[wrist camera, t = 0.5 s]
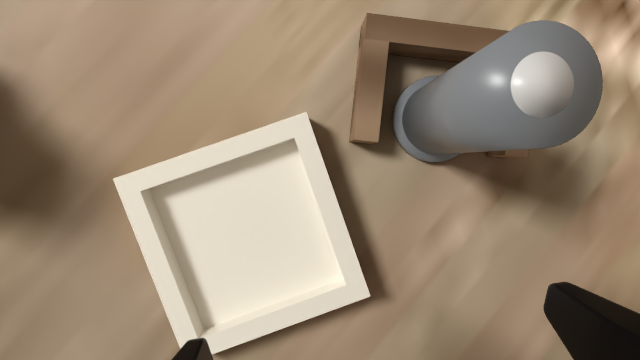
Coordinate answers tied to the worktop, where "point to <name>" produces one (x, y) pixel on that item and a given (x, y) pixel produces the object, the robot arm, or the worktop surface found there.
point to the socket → (412, 41)
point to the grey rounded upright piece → (504, 96)
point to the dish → (244, 235)
